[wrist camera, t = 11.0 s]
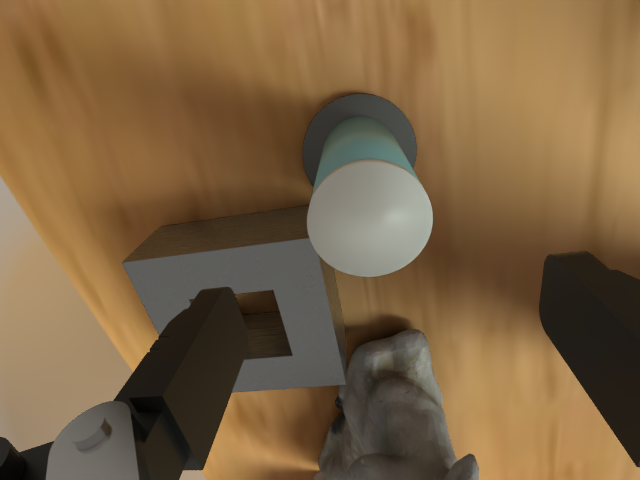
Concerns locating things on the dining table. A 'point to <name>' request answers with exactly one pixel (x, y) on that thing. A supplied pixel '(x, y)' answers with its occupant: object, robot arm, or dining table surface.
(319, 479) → the grey piece
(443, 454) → the sculpture
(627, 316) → the robot arm
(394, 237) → the teal canister
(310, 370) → the housing
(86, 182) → the dining table surface
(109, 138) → the dining table surface
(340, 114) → the coaster
